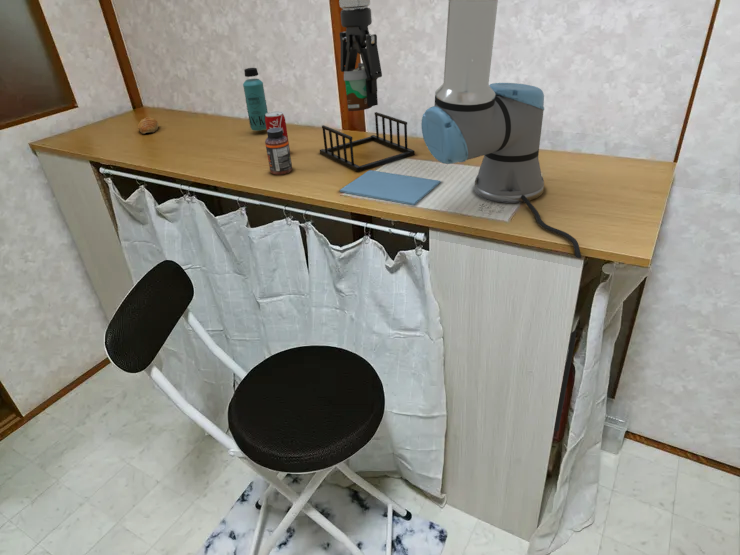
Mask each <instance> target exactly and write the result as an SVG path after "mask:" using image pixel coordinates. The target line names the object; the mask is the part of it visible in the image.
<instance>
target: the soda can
mask: <svg viewBox="0 0 740 555" xmlns="http://www.w3.org/2000/svg"><path fill="white" fill-rule="evenodd" d="M265 123H266V129H265V130H266V131H267V130H268V129H271V128H282V130H283V135H284V136H286V137H287V139H288V143H289V144H290V141H289V135H288V130H287V123H286V117H285V115H284V112H283V111H280V110H275V111H274V110H273V111H269V112H268V113H266V114H265ZM289 150H290V151H291V149H290V147H289Z"/></svg>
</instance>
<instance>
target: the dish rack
mask: <svg viewBox="0 0 740 555" xmlns="http://www.w3.org/2000/svg"><path fill="white" fill-rule="evenodd" d="M373 114H374V119H375V120H374V121H375V134H372V135H370V136H368V137H364V138H359V139H357V140H353V136H351V135H349V134H346V133H345V132H341V131H339V130H336V129H334V128H332V127H329V126H326V125H324V124H323V125H321V129H322V137H323V144H324V146H323V147H324V148H321V149H319V154H320V155H321V156H324V157H326V158H328V159H330V160H332V161H333V162H336V163H338V164H339V165H342V166H344V167H346V168H348V169H350V170H352V171H354V172H356V173H359V172H362V171H366V170H370V169H373V168H376V167H379V166H382V165H385V164H388V163H392V162H396V161H399V160H402V159H405V158H408V157H412V156H414V155H416V152H415V151H416V150H415V149H412V148H409V147H408V121H405V120H402V119H399V118H396V117H392V116H389V115H387V114H384V113H381V112H378V111H375V112H374V113H373ZM378 117H380V118H381V122H382V124H381V125H382V137H380V135H379V134H380V133H379V118H378ZM385 119H386V120H388V124H389V140H388V139H386V137H387V136H386V121H385ZM393 122H395V123H396V142H397V143H396V142H394V140H393V139H394V138H393ZM400 124H401V125H403V131H404V145H401V137H400V134H401V133H400ZM326 131H328V137H329V146H330V147H328V142H327V135H326V134H327V133H326ZM333 134H335V142H336V144H335V146H334V143H333ZM339 137H341V138H342V144H340V141H339ZM346 139H347V140H348V141H349V142H346ZM368 142H376V143H378V144H381V145H383V146H386V147H388V148H391V149H393V150H396V151H398V152H401V153H399V154H394V155H392V156H388V157H386V158H382V159H379V160H375V161H372V162H369V163H365V164H362V165H358V164H356V163H355V159H354V157H355V156H354V146H358V145H361V144H365V143H368ZM347 148H349V152H350V160H348V155H347ZM340 150H343V157H341V151H340ZM335 152H337V153H336V154H335Z"/></svg>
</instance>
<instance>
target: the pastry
mask: <svg viewBox="0 0 740 555" xmlns="http://www.w3.org/2000/svg"><path fill="white" fill-rule="evenodd" d="M137 129H138V131H139V132H140V133H141V134H143V135H145V134H146V133H155V132H156V131H158V129H159V122H158V121H157V119H155V118H153V117H150V116H146V117H144V118H142V119H141V120H140V121H139V123H138V125H137Z"/></svg>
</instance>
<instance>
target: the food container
mask: <svg viewBox="0 0 740 555" xmlns="http://www.w3.org/2000/svg"><path fill="white" fill-rule="evenodd" d="M366 78H367V75H366V72H365V68H364V65H363V62H358V63H357V67H355V69H352V70H351V71H345V72H343V81H344V85H345V92H346V102H347V103H346V104H347V112H358V111H359V112H360V111H365V110H369V109H371V108H372V107H373V106H371V107H368V105H367V91H366V80H365V79H366Z"/></svg>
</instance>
